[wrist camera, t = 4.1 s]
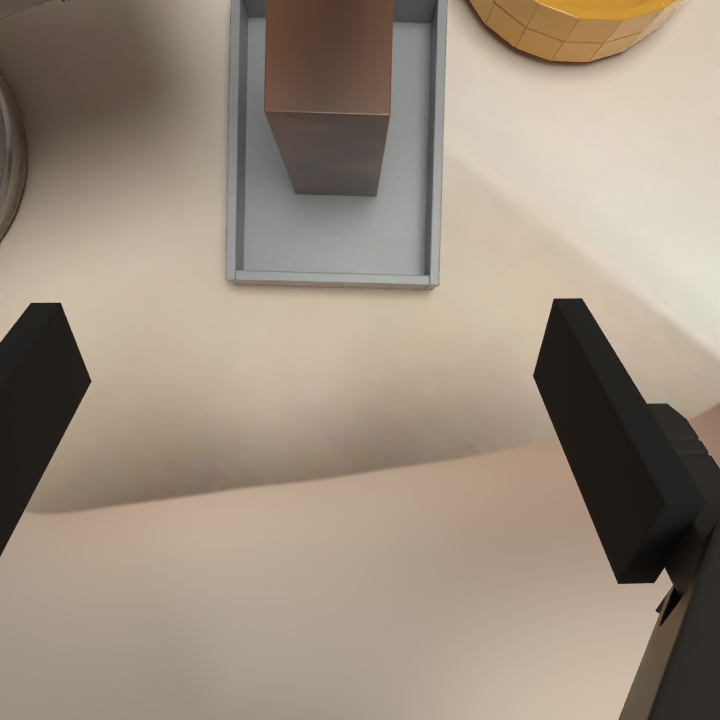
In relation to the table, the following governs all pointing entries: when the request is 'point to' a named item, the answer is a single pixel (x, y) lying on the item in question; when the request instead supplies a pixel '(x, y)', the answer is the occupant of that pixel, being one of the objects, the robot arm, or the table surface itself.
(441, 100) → the tin
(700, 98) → the table surface
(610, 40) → the bowl
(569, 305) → the robot arm
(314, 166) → the walnut block
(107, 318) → the table surface
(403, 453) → the table surface
